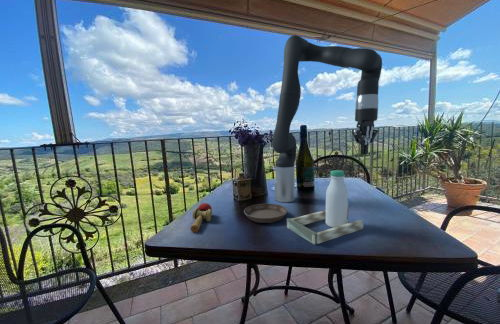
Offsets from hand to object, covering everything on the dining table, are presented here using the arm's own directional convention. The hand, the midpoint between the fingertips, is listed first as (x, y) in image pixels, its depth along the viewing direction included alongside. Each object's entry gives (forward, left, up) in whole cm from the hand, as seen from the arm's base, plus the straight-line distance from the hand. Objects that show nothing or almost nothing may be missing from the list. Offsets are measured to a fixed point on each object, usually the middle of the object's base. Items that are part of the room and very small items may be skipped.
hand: (363, 154), depth 87 cm
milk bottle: (-7, -13, -25) cm, 29 cm away
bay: (-10, -18, -25) cm, 32 cm away
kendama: (-53, -35, -25) cm, 68 cm away
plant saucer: (-34, -18, -25) cm, 46 cm away
